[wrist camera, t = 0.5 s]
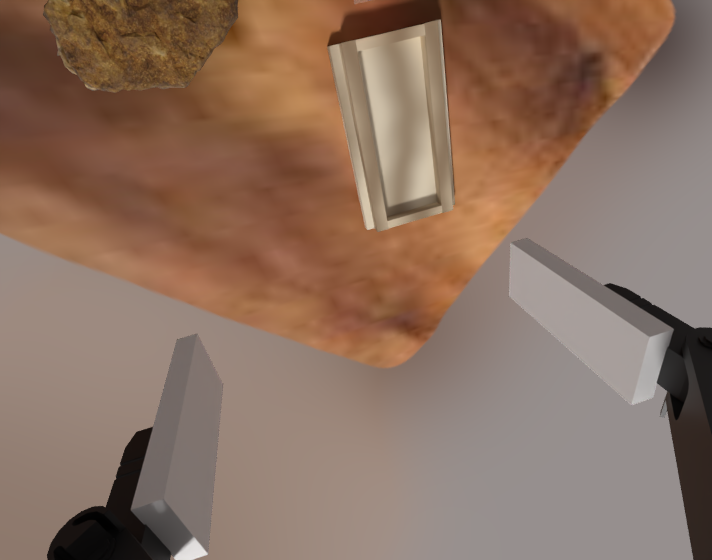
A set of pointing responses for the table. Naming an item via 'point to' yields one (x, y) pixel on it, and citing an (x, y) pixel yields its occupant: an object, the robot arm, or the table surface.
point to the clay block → (360, 1)
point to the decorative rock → (138, 39)
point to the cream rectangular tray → (396, 123)
